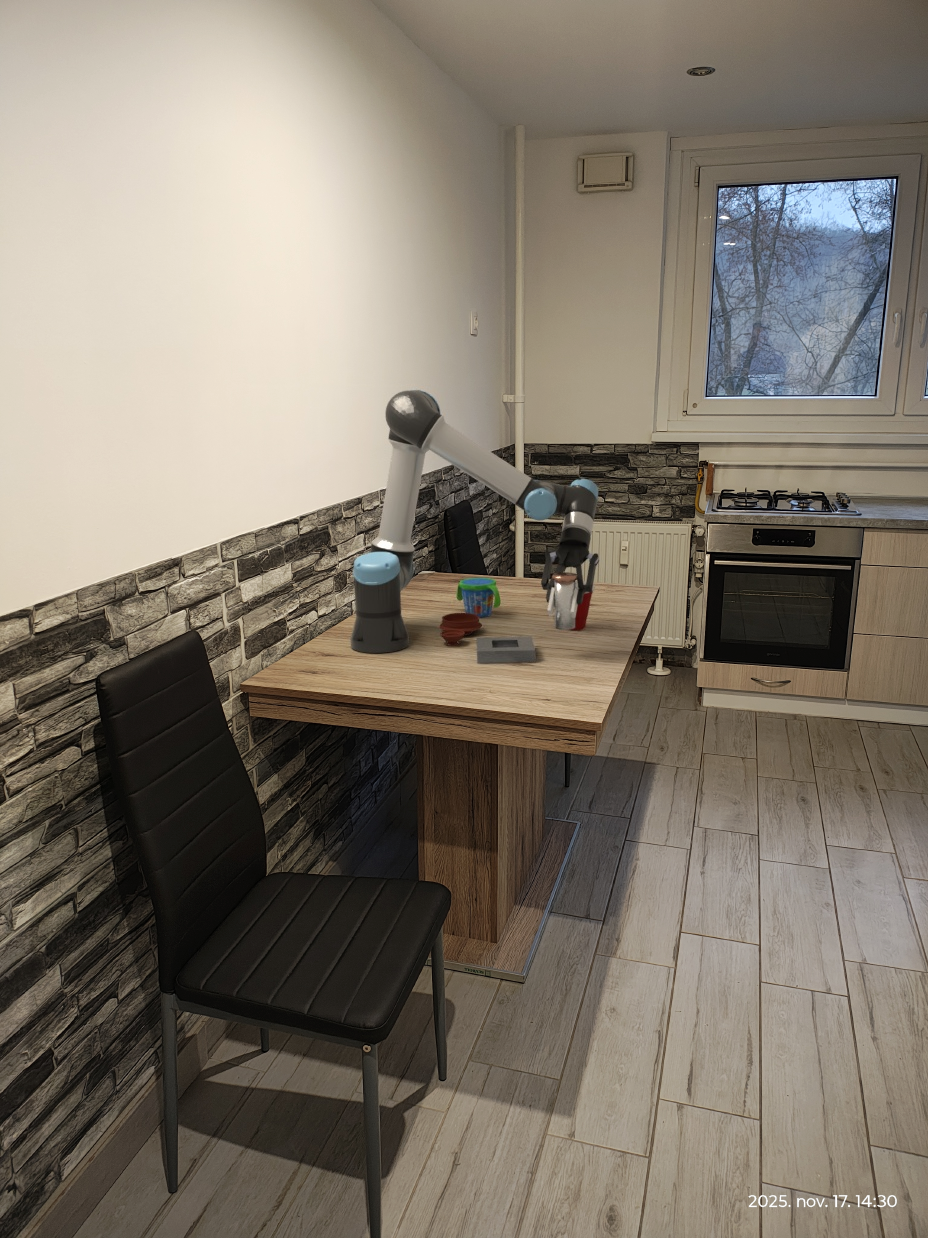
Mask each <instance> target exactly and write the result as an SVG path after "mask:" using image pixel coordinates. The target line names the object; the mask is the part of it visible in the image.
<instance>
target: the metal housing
mask: <svg viewBox="0 0 928 1238" xmlns="http://www.w3.org/2000/svg"><path fill="white" fill-rule="evenodd" d="M475 639H476V663H477V664H502V663H503V664H504V663H505V664H506V663H508V664H509V663H518V664H519V663H536V647H535V643H534V640H533V636H498V637H497V636H493V637H491V636H490V637H485V636H484V637H476V638H475Z"/></svg>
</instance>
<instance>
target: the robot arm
mask: <svg viewBox="0 0 928 1238" xmlns="http://www.w3.org/2000/svg"><path fill="white" fill-rule="evenodd" d="M385 421H386V424H387V426H388V428H389V431H388V432H389V433H388V438H387V440H388V442H389V443H390V444H391V446H392V449H391V450H392V451H391V457H390V463H389V469H388V474H387V480H386V481H387V482H386V488H385V493H384V494H385V495H384V500H383V505H382V506H383V507H382V512H381V518H380V524H379V531H378V535H377V537H375V538H374V539H373V540H371V546H370V551H369V553H368V552H367V553H366V554H362V555H360V556H357V558H355V560H354V561H353V569H352V576H353V585H354V603H355V621H354V625H353V629H352V632H351V636H350V648H351V649H352V650H355V651H356V652H359V653H369V654H382V653H392V652H397V651H400V650H403V649H405V648H407V647H408V646H409V645H410V636H409V633H408V630H407V627H406V624H405V622H404V618H403V615H402V602H401V601H402V600H401V599H402V598H401V593H402V592H401V591H402V590H404V589H405V588H406V587H408V585H409V583H410V582H411V580H412V578H413V576H414V570H415V569H414V561H413V559H414V555H415V550H416V549H415V546H414V545H413V544H412V542H411V539H412V533H413V527H414V521H415V516H416V515H415V514H416V510H417V505H418V499H419V494H420V486H421V481H422V475H423V471H424V469H423V468H424V464H425V457H426V453H427V452H428V451H431V452H432V453H434V454H435V455H437V456H439V457H440V458H441V459H443V460H445V461H447V462H448V463H450V464H451V465H453V466H454V467H456V468H457V469H458V470H461V471H462V472H464V473H465V474H467V475H469V476H470V477H471V478H473V479H475V480H476V481H478V482H480V483H481V484H482V485H484V486H485V487H487V488H489V489H490V490H492V491H494V492H495V493H496V494H498V495H499V496H501V497H503V498H505V500H507V501H509V502H511V503H513V504H514V505H515V506H516V507H518V508H519V509H521V510H522V511H524V512H525V513H526V514H527V516H528V517H529V518H530V519H532V520H535V521H545V520H547V519H550V518H551V516H553V515H554V514H556V515H559V516H560V515H561V516H564V517H563V523H562V528H561V533H560V536H559V537H560V538H559V542H558V547H557V549H555V551H553V552H550V551H546V552H545V553H544V557H545V562H544V565H543V566H544V568H543V572H542V575H541V582H540V584H541V586H542V587H541V588H542V590H543V591H546V595H545V599H546V603H547V604H548V605H547V614H548V616H549V617H553V613H554V580H552V577H551V574H552V568H553V563H554V562H555V559H556V558H557V559H558V561H557V566H556V567H555V570H554V571H553V574H555V573H562V572H566V570H567V568H575V570H576V573H575V574H577V580H576V581H577V582H578V589H575V590H574V596H573V601H572V607H571V615H572V618H575V617H576V611H577V606H578V604H582V601H583V595H584V593H585V592H592V588H593V585H594V581H595V575H596V569H597V566H598V565H599V562H600V558H599V554H598V553H597V552H596V553H591V552H590V551H589V550H590V545H591V539H592V538H591V537H592V533H593V528H594V522H595V516H596V511H597V506H598V501H599V500H598V499H599V488H598V486H597V484H596V483H595V482H593V481H592V480H590V479H585V478H581V479H575V480H574V481H572V482H571V484H570V485H563V484H557V483H551V482H548V481H547V482H546V481H542V480H539V479H533V478H532V477H530V476H528V475H527V474H525V473H524V472H523V471H521V470H519V469H518V468H516V467H515V466H513V465H512V464H510V463H509V462H507V461H505V460H504V459H503V458H501V457H499V456H497V455H496V454H494V453H493V452H492V451H490V450H488V449H487V448H485V447H484V446H482V445H481V444H479V443H478V442H476V441H474V440H473V439H471V438H470V437H468V436H467V435H465V434H463V433H462V432H461V431H459V430H458V429H456V428H454V427H453V426H451V425H450V424H448V423H447V422H446V421H445V416H444V415H442V414H441V408H440V405H439V403H438V401H437V399H436V398H435V397H434V396H432V395H431V394H430V393H429V392H426V391H424V390H421V389H411V390H403V391H399V392H397V393H396V394H394V395H393V396H392V397H391V398H390V400H389V401H388V403H387V405H386V407H385ZM587 560H588V562H589V564H588V570H587V576H586V581H585V582H586V585H584V584H583V582H584V578H583V577H584V575H583V568H582V564H584V563H585V562H587Z"/></svg>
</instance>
